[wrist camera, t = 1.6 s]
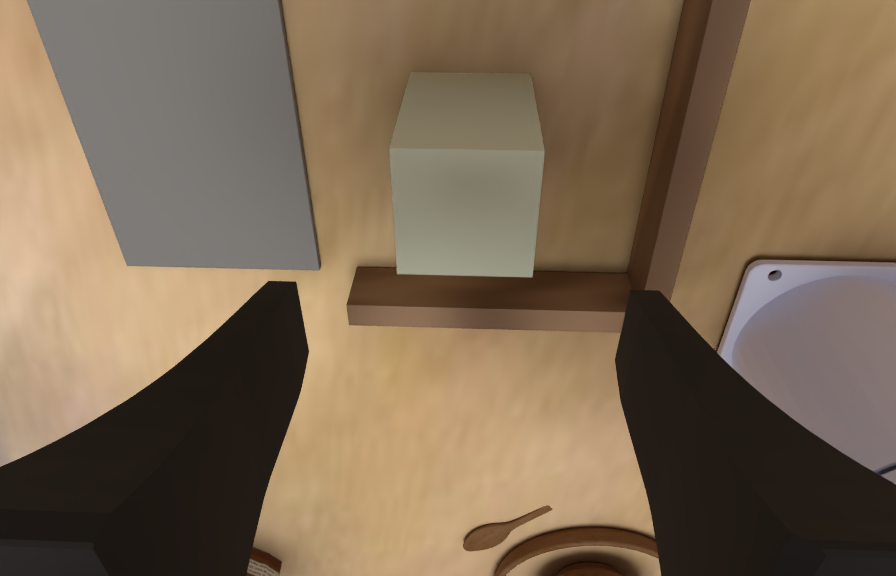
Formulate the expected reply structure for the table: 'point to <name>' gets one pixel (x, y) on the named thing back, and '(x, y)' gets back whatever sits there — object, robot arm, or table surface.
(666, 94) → the open side box
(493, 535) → the place setting
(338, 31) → the table surface
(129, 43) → the mat
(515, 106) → the sage block
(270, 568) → the food container
